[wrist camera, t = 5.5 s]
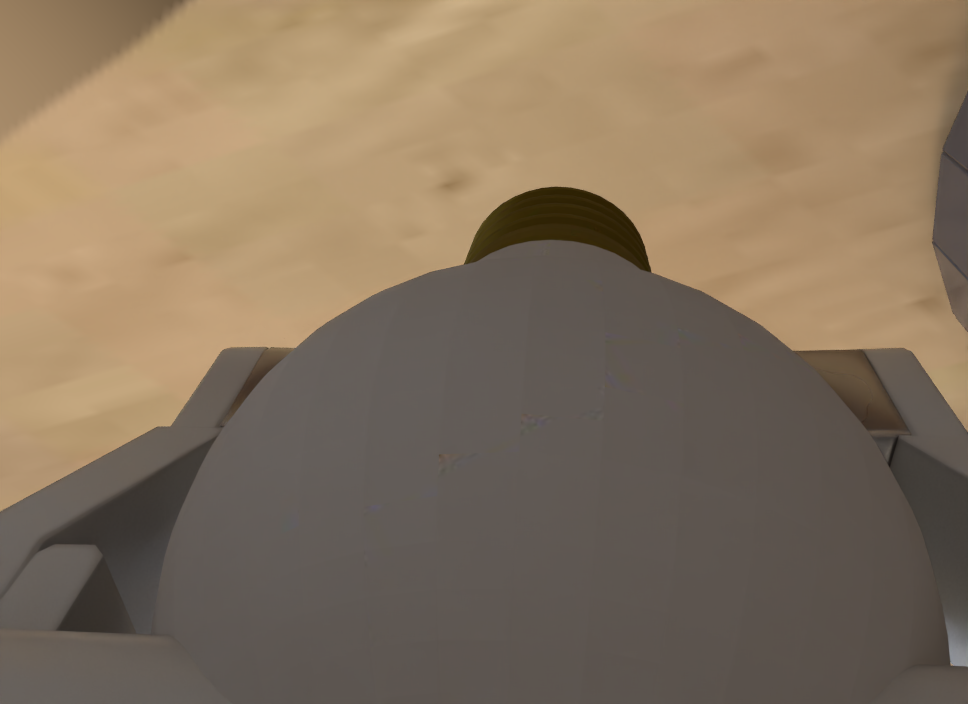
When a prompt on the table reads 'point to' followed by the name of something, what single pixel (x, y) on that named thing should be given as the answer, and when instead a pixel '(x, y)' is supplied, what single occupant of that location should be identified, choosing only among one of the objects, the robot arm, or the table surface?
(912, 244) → the table surface
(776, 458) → the light bulb
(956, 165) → the bowl
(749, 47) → the table surface
